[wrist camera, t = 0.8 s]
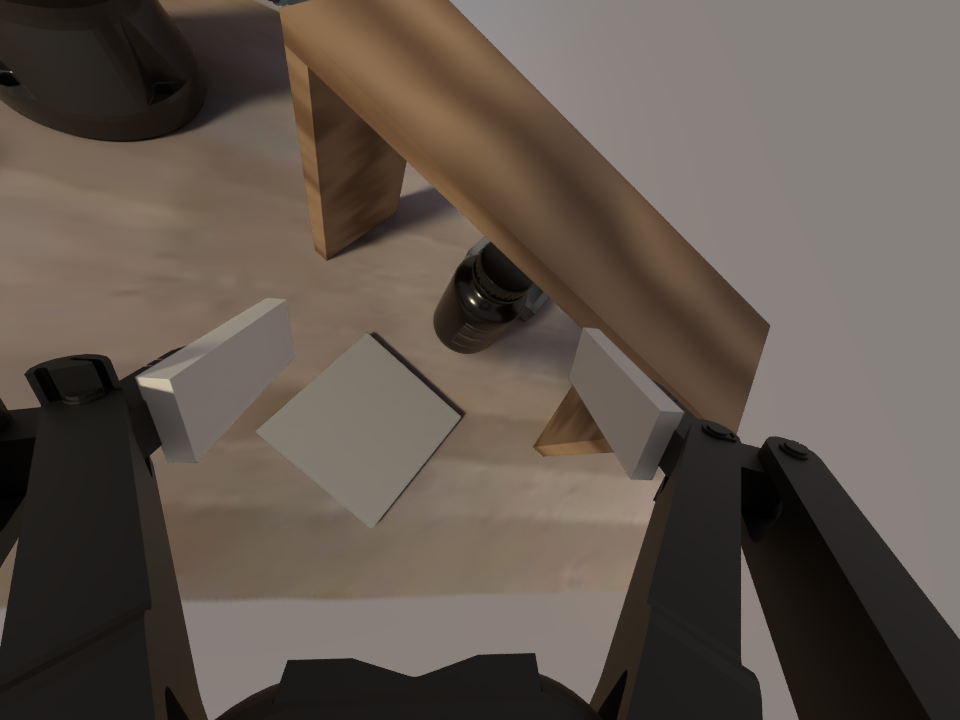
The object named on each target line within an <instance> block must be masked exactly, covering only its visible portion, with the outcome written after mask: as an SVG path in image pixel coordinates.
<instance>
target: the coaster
mask: <svg viewBox="0 0 960 720" xmlns="http://www.w3.org/2000/svg"><path fill="white" fill-rule="evenodd" d="M460 418H461V416H460V415H459V414H458V413H456V412H455V411H454V410H453V409H452V408H451V407H450V406H449V405H448V404H446V403H445V402H444V401H443V400H442V399H441V398H440V397H439V396H437V395H436V394H435V393H434V392H433V391H432V390H431V389H430V388H428V387H427V386H426V385H425V384H424V383H423V382H422V381H421V380H420V379H418V378H417V377H416V376H415V375H414V374H413V373H412V372H411V371H409V370H408V369H407V368H406V367H405V366H404V365H403V364H402V363H401V362H399V361H398V360H397V359H396V358H395V357H394V356H393V355H392V354H390V353H389V352H388V351H387V350H386V349H385V348H384V347H383V346H382V345H380V344H379V343H378V342H377V341H376V340H375V339H374V338H373V337H371V336H370V335H369V334H368V333H366V334H365V335H364V336H363V337H361V338H360V339H359V340H358V341H357V342H356V343H355V344H354V345H352V346H351V347H350V348H349V349H348V350H347V351H346V352H345V353H343V354H342V355H341V356H340V357H339V358H338V359H337V360H335V361H334V362H333V363H332V364H331V365H330V366H329V367H328V368H326V369H325V370H324V371H323V372H322V373H321V374H320V375H319V376H317V377H316V378H315V379H314V380H313V381H312V382H311V383H309V384H308V385H307V386H306V387H305V388H304V389H303V390H302V391H300V392H299V393H298V394H297V395H296V396H295V397H294V398H293V399H291V400H290V401H289V402H288V403H287V404H286V405H285V406H284V407H282V408H281V409H280V410H279V411H278V412H277V413H276V414H274V415H273V416H272V417H271V418H270V419H269V420H268V421H267V422H265V423H264V424H263V425H262V426H261V427H260V428H259V429H258V430H256V431H255V432H256V433H257V434H259V435H260V436H261V437H262V438H263V439H265V440H266V441H267V442H268V443H269V444H270V445H272V446H273V447H274V448H275V449H276V450H278V451H279V452H280V453H281V454H282V455H284V456H285V457H286V458H287V459H288V460H290V461H291V462H292V463H293V464H294V465H295V466H297V467H298V468H299V469H300V470H301V471H303V472H304V473H305V474H306V475H307V476H309V477H310V478H311V479H312V480H313V481H315V482H316V483H317V484H318V485H319V486H320V487H322V488H323V489H324V490H325V491H326V492H328V493H329V494H330V495H331V496H332V497H334V498H335V499H336V500H337V501H338V502H340V503H341V504H342V505H343V506H344V507H345V508H347V509H348V510H349V511H350V512H351V513H353V514H354V515H355V516H356V517H357V518H359V519H360V520H361V521H362V522H363V523H365V524H366V525H367V526H368V527H369V528H370V529H372V528H373V527H374V526H375V525H376V523H377V522H378V521H379V520H380V518H381V517H382V516H383V515H384V513H385V512H386V511H387V510H388V508H389V507H390V506H391V505H392V503H393V502H394V501H395V500H396V498H397V497H398V496H399V495H400V493H401V492H402V491H403V490H404V488H405V487H406V486H407V485H408V483H409V482H410V481H411V480H412V478H413V477H414V476H415V475H416V473H417V472H418V471H419V470H420V468H421V467H422V466H423V464H424V463H425V462H426V461H427V459H428V458H429V457H430V456H431V454H432V453H433V452H434V451H435V449H436V448H437V447H438V446H439V444H440V443H441V442H442V441H443V439H444V438H445V437H446V436H447V434H448V433H449V432H450V431H451V429H452V428H453V427H454V426H455V424H456V423H457V422H458V421H459V419H460Z"/></svg>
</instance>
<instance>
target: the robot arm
mask: <svg viewBox="0 0 960 720" xmlns="http://www.w3.org/2000/svg"><path fill="white" fill-rule="evenodd" d="M269 1H272V2H273V3H274V4H275V5H278V6H279V5H281V6H285V5H287V4H288V5H294V4H298V3H302V2H306V1H309V0H269ZM204 95H205V86H204V81H203V78H202V75H201V72H200V69H199V67H198V64H197V61H196V59H195V56H194V54H193V52H192V50H191V48H190V46H189V44H188V42H187V41H186V39H185V38H184V36H183V35H182V34H181V32H180V31H179V29H178V28H177V27H176V25H175V24H174V22H173V21H172V19H171V18H170V17H169V15H168V14H167V12H166V11H165V10H164V8H163V7H162V5H161V4H160V3H159V1H158V0H0V99H1V100H2V101H3V102H4V103H5V104H7V105H8V106H9V107H11V108H12V109H13V110H15V111H17V112H18V113H20V114H21V115H23V116H25V117H27V118H29V119H31V120H33V121H35V122H37V123H39V124H41V125H44V126H46V127H49V128H52V129H54V130H58V131H61V132H64V133H68V134H72V135H76V136H80V137H86V138H92V139H100V140H138V139H145V138H151V137H155V136H159V135H163V134H166V133H169V132H171V131H173V130H175V129H177V128H179V127H181V126H183V125H184V124H186V123H187V122H188V121H190V120H191V119H192V118H193V117H194V116H195V115H196V114H197V112H198V111H199V109H200V107H201V106H202V103H203V100H204ZM293 358H294V353H293V346H292V338H291V331H290V323H289V316H288V309H287V301H286V299H275V298H266V299H264V300H262V301H261V302H259V303H257V304H256V305H254V306H252V307H251V308H249V309H247V310H246V311H244V312H242V313H241V314H239V315H237V316H236V317H234V318H232V319H231V320H229V321H227V322H226V323H224V324H222V325H221V326H219V327H217V328H216V329H214V330H212V331H211V332H209V333H207V334H206V335H204V336H202V337H201V338H199V339H197V340H196V341H194V342H192V343H191V344H189V345H187V346H184V347H181V348H178V349H175V350H172V351H170V352H168V353H166V354H165V355H163V356H161V357H159V358H158V360H154V361H153V362H151V363H149V364H147V366H146V367H142V368H141V369H139V370H137V371H135V372H134V373H132V374H130V375H129V376H127V377H125V378H123V379H122V380H120V381H119V380H118V377H117V375H116V372H115V370H114V368H113V365H112V363H111V360H110V359H109V358H108V357H107V356H103V355H96V354H84V355H73V356H67V357H62V358H57V359H53V360H50V361H47V362H43V363H40V364H38V365H36V366H34V367H32V368H30V369H29V370H28V371H27V372H26V373H25V374H24V375H25V376H26V378H27V380H28V382H29V384H30V386H31V387H32V389H33V391H34V393H35V395H36V397H37V398H38V400H39V402H40V404H41V407H38V408H28V409H18V410H7V408H6V406H5V405H4V403H3V402H2V400H1V398H0V567H1V566H2V564H3V562H4V561H5V559H6V557H7V556H8V554H9V552H10V551H11V549H12V547H13V546H14V544H15V542H16V541H17V539H18V537H19V540H18V546H17V552H16V558H15V564H14V570H13V575H12V581H11V587H10V593H9V599H8V605H7V611H6V617H5V623H4V629H3V635H2V641H1V646H0V720H208V718H207V715H206V713H205V709H204V706H203V704H202V701H201V697H200V693H199V689H198V684H197V679H196V674H195V669H194V664H193V659H192V654H191V650H190V645H189V640H188V635H187V630H186V625H185V620H184V615H183V610H182V605H181V600H180V595H179V590H178V585H177V580H176V575H175V570H174V565H173V560H172V555H171V550H170V545H169V540H168V535H167V530H166V525H165V520H164V515H163V510H162V505H161V500H160V495H159V490H158V485H157V480H156V475H155V470H154V466H153V463H152V461H151V458H150V455H151V454H152V453H153V452H154V451H155V450H156V449H158V448H159V447H160V446H161V447H162V450H163V452H164V455H165V457H166V460H167V462H180V463H198V462H199V460H200V459H201V458H202V457H203V456H204V455H205V454H206V453H207V452H208V451H209V450H210V449H211V447H212V446H213V445H214V444H215V443H216V442H217V441H218V440H219V439H220V438H221V437H222V436H223V434H224V433H225V432H226V431H227V430H228V429H229V428H230V427H231V426H232V425H233V424H234V423H235V421H236V420H237V419H238V418H239V417H240V416H241V415H242V414H243V413H244V412H245V411H246V409H247V408H248V407H249V406H250V405H251V404H252V403H253V402H254V401H255V400H256V399H257V398H258V396H259V395H260V394H261V393H262V392H263V391H264V390H265V389H266V388H267V387H268V386H269V385H270V383H271V382H272V381H273V380H274V379H275V378H276V377H277V376H278V375H279V374H280V373H281V372H282V370H283V369H284V368H285V367H286V366H287V365H288V364H289V363H290V362H291V361H292V360H293ZM569 379H570V381H571V382H572V384H573V386H574V387H575V389H576V391H577V392H578V394H579V396H580V397H581V399H582V401H583V402H584V404H585V406H586V407H587V409H588V410H589V412H590V414H591V415H592V417H593V419H594V420H595V422H596V424H597V425H598V427H599V429H600V430H601V432H602V433H603V435H604V437H605V438H606V440H607V442H608V443H609V445H610V447H611V448H612V450H613V452H614V453H615V455H616V456H617V458H618V460H619V461H620V463H621V465H622V466H623V468H624V470H625V471H626V473H627V475H628V476H629V478H630V479H635V480H652V479H653V477H654V475H655V473H656V471H657V469H658V466H659V467H660V468H661V469H662V471H663V472H664V473H665V477H664V479H663V481H662V483H661V485H660V487H659V489H658V491H657V493H656V495H655V497H654V499H653V501H655V505H654V509H653V512H652V515H651V518H650V521H649V525H648V528H647V531H646V534H645V537H644V541H643V544H642V547H641V550H640V553H639V557H638V560H637V563H636V566H635V569H634V573H633V576H632V579H631V582H630V585H629V589H628V592H627V595H626V598H625V602H624V605H623V608H622V611H621V615H620V618H619V621H618V624H617V627H616V630H615V634H614V637H613V640H612V643H611V646H610V650H609V653H608V656H607V659H606V662H605V666H604V669H603V672H602V675H601V678H600V681H599V683H598V686H597V688H596V690H595V693H594V695H593V698H592V700H591V702H590V704H588V703H586V702H585V701H584V700H583V699H582V698H581V697H579V696H578V695H577V694H576V693H575V692H573V691H572V690H570V689H568V688H567V687H566V686H564V685H562V684H561V683H559V682H557V681H555V680H553V679H551V678H549V677H547V676H544V675H541V674H539V673H538V667H537V662H536V656H535V653H524V654H489V655H476V656H474V657H471V658H468V659H466V660H463V661H460V662H457V663H455V664H452V665H449V666H447V667H444V668H441V669H439V670H436V671H433V672H430V673H427V674H425V675H422V676H418V677H411V676H407V675H404V674H401V673H397V672H394V671H391V670H388V669H385V668H382V667H378V666H375V665H372V664H369V663H365V662H362V661H359V660H356V659H353V658H347V659H315V660H314V659H313V660H288V661H287V664H286V667H285V669H284V672H283V676H282V679H281V681H280V683H278V684H275V685H273V686H270V687H268V688H266V689H264V690H261V691H259V692H257V693H255V694H253V695H251V696H249V697H248V698H246V699H245V700H243V701H241V702H240V703H238V704H236V705H235V706H233V707H231V708H230V709H229V710H227V711H226V712H225V713H223V714H222V715H221V716H219V717H218V718H216V719H215V720H763V717H762V697H761V691H760V684H759V681H758V679H757V677H756V675H755V674H754V673H753V672H752V671H750V670H749V669H747V668H746V667H744V666H742V663H741V547H742V549H743V553H744V556H745V559H746V562H747V565H748V568H749V570H750V574H751V577H752V580H753V583H754V586H755V589H756V592H757V595H758V598H759V601H760V603H761V607H762V610H763V613H764V616H765V619H766V622H767V625H768V628H769V631H770V634H771V637H772V640H773V643H774V646H775V649H776V652H777V655H778V658H779V661H780V664H781V667H782V670H783V673H784V676H785V679H786V682H787V685H788V688H789V691H790V694H791V697H792V700H793V703H794V706H795V709H796V712H797V715H798V718H799V720H960V639H959V638H958V637H957V635H956V634H955V633H954V631H953V630H952V629H951V628H950V626H949V625H948V624H947V622H946V621H945V620H944V618H943V617H942V616H941V615H940V613H939V612H938V611H937V609H936V608H935V607H934V605H933V604H932V603H931V602H930V600H929V599H928V598H927V597H926V595H925V594H924V593H923V591H922V590H921V589H920V588H919V586H918V585H917V583H916V582H915V581H914V579H913V578H912V577H911V576H910V575H909V573H908V572H907V571H906V569H905V568H904V567H903V566H902V564H901V563H900V561H899V560H898V559H897V557H896V556H895V555H894V554H893V552H892V551H891V550H890V548H889V547H888V546H887V544H886V543H885V542H884V541H883V539H882V538H881V537H880V535H879V534H878V533H877V531H876V530H875V529H874V528H873V527H872V525H871V524H870V522H869V521H868V520H867V518H866V517H865V516H864V515H863V513H862V512H861V511H860V509H859V508H858V507H857V505H856V504H855V503H854V502H853V500H852V499H851V498H850V496H849V495H848V494H847V493H846V491H845V490H844V489H843V487H842V486H841V485H840V484H839V482H838V481H837V479H836V478H835V477H834V476H833V474H832V473H831V472H830V470H829V469H828V468H827V466H826V465H825V464H824V463H823V461H822V460H821V459H820V458H819V457H818V456H817V455H816V454H815V453H814V452H812V451H810V450H809V449H808V448H807V447H806V446H804V445H802V444H799V443H798V442H796V441H793V440H792V441H791V440H788V439H785V438H781V437H769V438H768V439H766V441H765V443H764V444H763V445H762V447H761V448H758V447H754V446H750V445H746V444H742V443H741V441H740V439H739V437H738V436H737V435H736V434H735V433H734V432H733V431H731V430H729V429H728V428H726V427H725V426H722V425H720V424H718V423H716V422H712V421H709V420H703V419H697V418H696V417H695V416H694V415H693V414H692V413H691V412H690V411H689V410H688V409H687V408H686V407H685V406H684V405H683V404H681V403H680V402H678V400H677V399H676V398H675V397H674V396H672V395H671V393H670V392H669V391H668V390H667V389H666V388H665V387H664V386H662V385H660V384H659V383H657V382H655V381H654V380H652V379H650V378H649V377H648V376H647V375H645V374H644V373H643V372H642V371H641V370H640V369H639V368H638V367H637V366H636V365H635V364H634V363H633V362H632V361H631V360H630V359H629V358H628V357H627V356H626V355H625V354H624V353H623V352H622V351H621V350H620V349H619V348H618V347H617V346H616V345H615V344H614V343H613V342H612V341H611V340H610V339H608V338H607V337H606V336H605V335H604V334H603V333H602V332H601V331H600V330H599V329H595V328H584V327H583V330H582V333H581V337H580V340H579V344H578V347H577V351H576V355H575V358H574V362H573V365H572V369H571V373H570V376H569Z"/></svg>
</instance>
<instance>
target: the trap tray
mask: <svg viewBox="0 0 960 720" xmlns="http://www.w3.org/2000/svg"><path fill="white" fill-rule="evenodd" d="M489 242H490V240H489V239H488V238H487V237H486V236H485V237H483V238H482V239H481V240H480V241H479V242H478V243H477V244H476V245H475V246H473V247H472V248H471V249H470V250H469V251H468V253H467V254H466V256H465V258H464V260H465V259H467V258H468V257H470V256H473V255H476V254H479V253H480V252H481V250H482V249H483V248H484V247H485V245H486V244H488V243H489ZM464 260H463V261H464ZM548 297H549V296H548V295H547V294H546V293H544V292H543V291H542V290H541V289H540V288H539V287H538V286H537V285H536V284H535V283H534V284H533V285H532V287H531V288H530V289H529V290H528V291H527V302H526V305H525V308H524V310H523V312H522V313H521V315H520V317H521V318H522V319H523V320H524V321H525V322H526V321H527V320H528V319H529V318H530V317H532V316H533V315H534V314H535V313H536V312H537V311H538V309H539V308H540V307H541V306H542V304H543V303H544V302H545V301H546V300H547V298H548Z"/></svg>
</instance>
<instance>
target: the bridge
mask: <svg viewBox="0 0 960 720" xmlns="http://www.w3.org/2000/svg"><path fill="white" fill-rule="evenodd" d="M279 12H280V18H281V25H282V32H283V38H284V45H285V52H286V59H287V65H288V72H289V79H290V85H291V92H292V99H293V105H294V112H295V119H296V126H297V132H298V139H299V146H300V152H301V159H302V166H303V172H304V179H305V186H306V193H307V199H308V206H309V213H310V219H311V226H312V233H313V239H314V246H315V250H316V251H317V252H318V253H319V254H320V255H321V256H322V257H324V258H325V259H326V260H328V259H330V258H331V257H332V256H334V255H335V254H337V253H338V252H340V251H341V250H342V249H344V248H345V247H347V246H348V245H350V244H351V243H352V242H354V241H355V240H357V239H358V238H359V237H361V236H362V235H364V234H365V233H367V232H368V231H369V230H371V229H372V228H374V227H375V226H376V225H378V224H379V223H381V222H382V221H384V220H385V219H386V218H388V217H389V216H391V215H392V214H394V213H395V212H396V211H397V208H398V203H399V198H400V193H401V188H402V182H403V177H404V172H405V167H406V162H408V163H409V164H410V165H411V166H412V167H413V168H414V169H416V170H417V171H418V172H419V173H420V174H421V175H422V176H423V177H424V178H425V179H426V180H427V181H428V182H429V183H430V184H431V185H432V186H433V187H434V188H435V189H436V190H438V191H439V192H440V193H441V194H442V195H443V196H444V197H445V198H446V199H447V200H448V201H449V202H450V203H451V204H452V205H453V206H454V207H455V208H456V209H457V210H459V211H460V212H461V213H462V214H463V215H464V216H465V217H466V218H467V219H468V220H469V221H470V222H471V223H472V224H473V225H474V226H475V227H476V228H477V229H478V230H479V231H481V232H482V233H483V234H484V235H485V236H486V237H487V238H488V239H489V240H490V241H491V242H492V243H493V244H494V245H495V246H496V247H497V248H498V249H499V250H500V251H502V252H503V253H504V254H505V255H506V256H507V257H508V258H509V259H510V260H511V261H512V262H513V263H514V264H515V265H516V266H517V267H518V268H519V269H520V270H521V271H522V272H524V273H525V274H526V275H527V276H528V277H529V278H530V279H531V280H532V281H533V282H534V283H535V284H536V285H537V286H538V287H539V288H540V289H541V290H542V291H543V292H544V293H546V294H547V295H548V296H549V297H550V298H551V299H552V300H553V301H554V302H555V303H556V304H557V305H558V306H559V307H560V308H561V309H562V310H563V311H564V312H565V313H567V314H568V315H569V316H570V317H571V318H572V319H573V320H574V321H575V322H576V323H577V324H578V325H579V326H580V327H581V328H582V329H583V327H584V328H595V329H599V330H600V331H601V332H602V333H603V334H604V335H605V336H606V337H607V338H608V339H610V340H611V341H612V342H613V343H614V344H615V345H616V346H617V347H618V348H619V349H620V350H621V351H622V352H623V353H624V354H625V355H626V356H627V357H628V358H629V359H630V360H631V361H632V362H633V363H634V364H635V365H636V366H637V367H638V368H639V369H640V370H641V371H642V372H643V373H644V374H645V375H647V376H648V377H649V378H650V379H652V380H654V381H655V382H657V383H659V384H660V385H662V386H664V387H665V388H666V389H667V390H668V391H669V392H670V393H671V395H672V396H674V397H675V398H676V399H677V400H678V402H680V403H681V404H683V405H684V406H685V407H686V408H687V409H688V410H689V411H690V412H691V413H692V414H693V415H694V416H695V417H696V418H697V419H703V420H709V421H712V422H716V423H718V424H720V425H722V426H725V427H726V428H728V429H729V430H731V431H733V432H734V433H735V434H737V431H738V428H739V424H740V421H741V418H742V415H743V412H744V408H745V405H746V402H747V399H748V396H749V392H750V389H751V386H752V383H753V380H754V376H755V373H756V370H757V367H758V363H759V360H760V357H761V354H762V351H763V347H764V344H765V341H766V338H767V335H768V331H769V328H770V325H769V324H768V323H767V322H766V321H765V320H764V319H763V318H762V317H761V316H760V315H759V314H758V313H757V312H756V311H755V309H754V308H753V307H752V306H751V305H750V304H748V302H747V301H745V299H744V298H742V296H741V295H740V294H739V293H738V292H737V291H736V290H735V289H734V288H733V287H732V286H731V285H730V284H729V283H728V282H727V281H726V280H725V279H724V278H723V277H722V276H721V275H720V274H719V273H718V272H717V271H716V270H715V269H714V268H713V267H712V266H711V265H710V264H709V263H708V262H707V261H706V260H705V259H704V258H703V257H702V256H701V255H700V254H699V253H698V252H697V251H696V250H695V249H694V248H693V247H692V246H691V245H690V244H689V243H688V242H687V241H686V240H685V239H684V238H683V237H682V236H681V235H680V234H679V233H678V232H677V231H676V230H675V229H674V228H673V227H672V226H671V225H670V223H669V222H668V221H666V219H664V217H663V216H661V214H660V213H659V212H658V211H657V210H656V209H655V208H653V206H652V205H651V204H650V203H649V202H648V201H647V200H646V199H645V198H644V197H643V196H642V195H641V194H640V193H639V192H638V191H637V190H636V189H635V188H634V187H633V186H632V185H631V184H630V183H629V182H628V181H627V180H626V179H625V178H624V177H623V176H622V175H621V174H620V173H619V172H618V171H617V170H616V169H615V168H614V167H613V166H612V165H611V164H610V163H609V162H608V161H607V160H606V159H605V158H604V157H603V156H602V155H601V154H600V153H599V152H598V151H597V150H596V149H595V148H594V147H593V146H592V145H591V144H590V143H589V142H588V141H587V140H586V139H585V138H584V137H583V135H581V133H580V132H579V131H578V130H577V129H575V127H574V126H573V125H572V124H571V123H570V122H568V120H567V119H566V118H565V117H564V116H563V115H562V114H561V113H560V112H559V111H558V110H557V109H556V108H555V107H554V106H553V105H552V104H551V103H550V102H549V101H548V100H547V99H546V98H545V97H544V96H543V95H542V94H541V93H540V92H539V91H538V90H537V89H536V88H535V87H534V86H533V85H532V84H531V83H530V82H529V81H528V80H527V79H526V78H525V77H524V76H523V75H522V74H521V73H520V72H519V71H518V70H517V69H516V68H515V67H514V66H513V65H512V64H511V63H510V62H509V61H508V60H507V59H506V58H505V57H504V56H503V55H502V54H501V52H500V51H498V49H497V48H496V47H495V46H493V44H492V43H491V42H489V40H488V39H486V37H485V36H484V35H483V34H482V33H481V32H480V31H479V30H478V29H477V28H476V27H475V26H474V25H473V24H472V23H471V22H470V21H469V20H468V19H467V18H466V17H465V16H464V15H463V14H462V13H461V12H460V11H459V10H458V9H457V8H456V7H455V6H454V5H453V4H452V3H451V2H450V1H449V0H309V1H306V2H302V3H298V4H294V5H290V6H286V7H282V8H279ZM533 447H534V448H535V449H536V450H537V451H538V452H539V453H540V454H541V455H542V456H560V455H577V454H593V453H610V452H613V450H612V448H611V447H610V445H609V443H608V442H607V440H606V438H605V437H604V435H603V433H602V432H601V430H600V429H599V427H598V425H597V424H596V422H595V420H594V419H593V417H592V415H591V414H590V412H589V410H588V409H587V407H586V406H585V404H584V402H583V401H582V399H581V397H580V396H579V394H578V392H577V391H576V389H575V387H574V386H572V387H571V389H570V390H569V392H568V393H567V395H566V397H565V398H564V400H563V401H562V403H561V404H560V406H559V407H558V409H557V411H556V412H555V414H554V415H553V417H552V418H551V420H550V421H549V423H548V425H547V426H546V428H545V429H544V431H543V432H542V434H541V435H540V437H539V439H538V440H537V442H536V443H535V445H534V446H533Z"/></svg>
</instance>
